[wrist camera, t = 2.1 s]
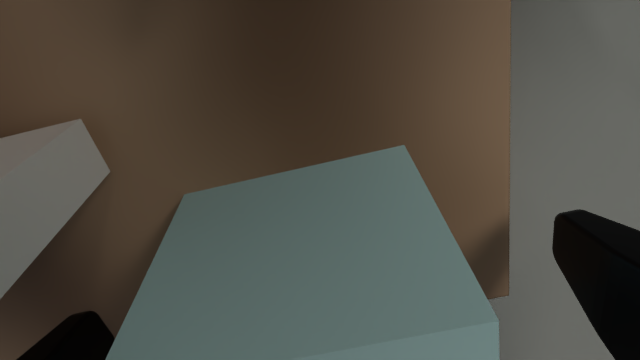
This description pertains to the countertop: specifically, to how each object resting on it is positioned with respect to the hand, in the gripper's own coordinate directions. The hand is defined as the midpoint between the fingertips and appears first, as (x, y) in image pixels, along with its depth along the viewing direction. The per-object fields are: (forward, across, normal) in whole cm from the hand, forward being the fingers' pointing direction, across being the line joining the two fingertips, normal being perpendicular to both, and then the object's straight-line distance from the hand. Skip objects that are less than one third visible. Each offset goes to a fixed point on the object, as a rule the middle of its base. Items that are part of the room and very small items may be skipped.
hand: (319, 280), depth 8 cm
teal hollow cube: (+1, 0, 0) cm, 1 cm away
